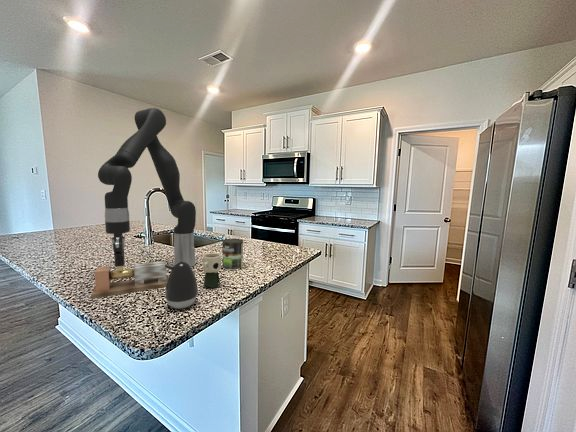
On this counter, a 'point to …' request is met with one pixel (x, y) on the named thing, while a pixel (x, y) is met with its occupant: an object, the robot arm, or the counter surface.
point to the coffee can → (232, 254)
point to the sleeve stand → (138, 280)
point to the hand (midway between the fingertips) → (119, 264)
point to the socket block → (102, 278)
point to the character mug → (211, 269)
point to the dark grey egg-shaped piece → (181, 286)
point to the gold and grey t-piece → (121, 271)
